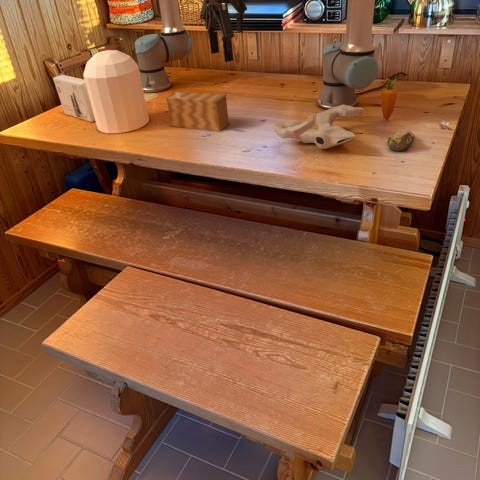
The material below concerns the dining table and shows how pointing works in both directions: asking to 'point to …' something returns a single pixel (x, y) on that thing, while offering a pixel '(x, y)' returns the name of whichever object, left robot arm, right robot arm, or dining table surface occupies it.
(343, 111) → the animal horns
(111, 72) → the container
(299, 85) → the dining table surface
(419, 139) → the dining table surface
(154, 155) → the dining table surface
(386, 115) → the carrot
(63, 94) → the skincare box
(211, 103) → the box
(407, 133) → the rock
